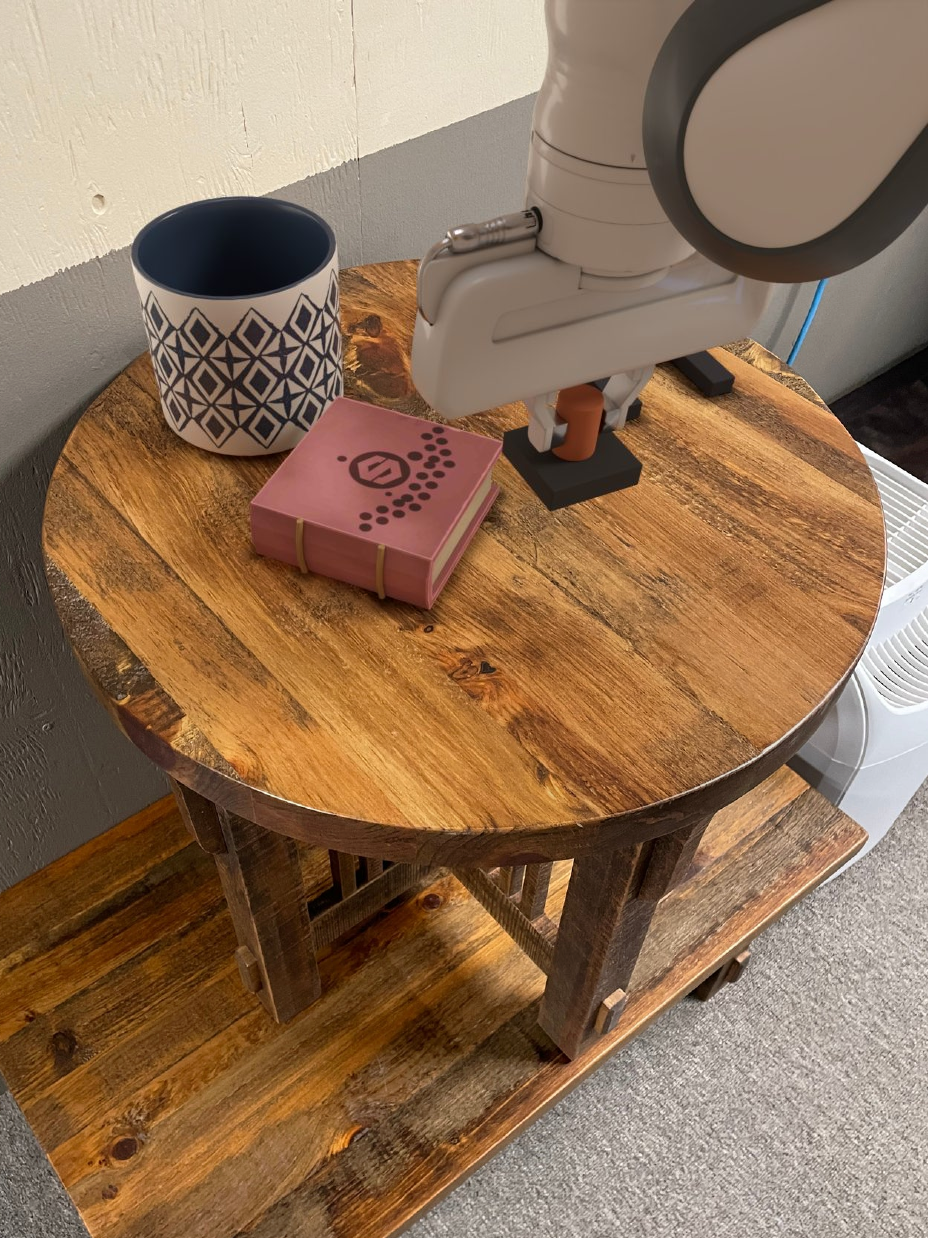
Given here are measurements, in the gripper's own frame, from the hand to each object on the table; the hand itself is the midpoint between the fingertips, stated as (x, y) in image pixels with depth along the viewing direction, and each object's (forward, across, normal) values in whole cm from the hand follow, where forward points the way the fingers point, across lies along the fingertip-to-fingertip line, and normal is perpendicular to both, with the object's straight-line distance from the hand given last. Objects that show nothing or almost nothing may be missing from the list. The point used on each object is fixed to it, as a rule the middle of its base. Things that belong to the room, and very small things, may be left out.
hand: (575, 434), depth 58 cm
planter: (+17, -10, +34) cm, 39 cm away
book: (+17, -6, +15) cm, 24 cm away
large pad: (+17, +24, +24) cm, 38 cm away
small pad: (+2, 0, 0) cm, 2 cm away
